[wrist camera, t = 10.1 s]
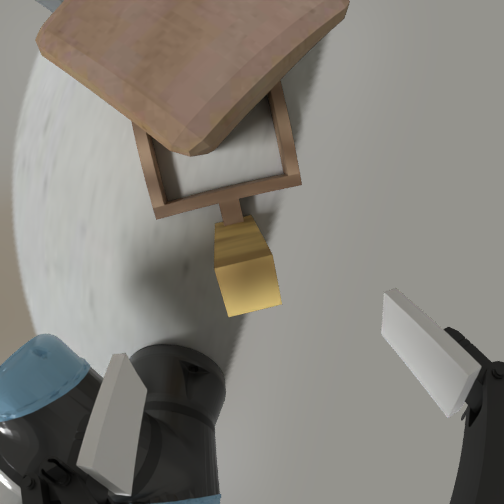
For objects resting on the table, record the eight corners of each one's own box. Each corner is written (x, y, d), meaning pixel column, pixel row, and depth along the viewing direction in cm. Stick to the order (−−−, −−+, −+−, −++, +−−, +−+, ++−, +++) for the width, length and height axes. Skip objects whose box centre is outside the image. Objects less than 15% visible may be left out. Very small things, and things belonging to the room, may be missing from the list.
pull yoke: (305, 237, 32) (350, 285, 20) (176, 268, 31) (159, 331, 20) (259, 19, 22) (282, -40, 11) (124, 50, 22) (79, 6, 10)
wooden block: (136, 102, 24) (20, 43, 5) (201, 34, 22) (188, -97, 4) (208, 157, 27) (188, 169, 9) (272, 88, 25) (367, 0, 7)
